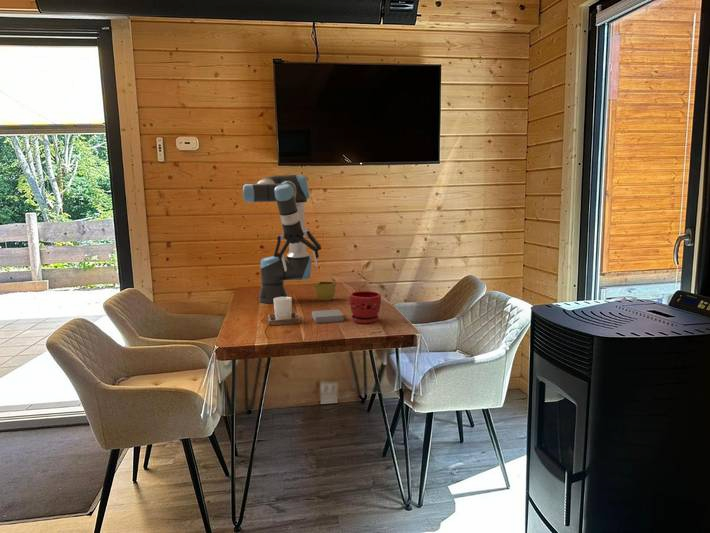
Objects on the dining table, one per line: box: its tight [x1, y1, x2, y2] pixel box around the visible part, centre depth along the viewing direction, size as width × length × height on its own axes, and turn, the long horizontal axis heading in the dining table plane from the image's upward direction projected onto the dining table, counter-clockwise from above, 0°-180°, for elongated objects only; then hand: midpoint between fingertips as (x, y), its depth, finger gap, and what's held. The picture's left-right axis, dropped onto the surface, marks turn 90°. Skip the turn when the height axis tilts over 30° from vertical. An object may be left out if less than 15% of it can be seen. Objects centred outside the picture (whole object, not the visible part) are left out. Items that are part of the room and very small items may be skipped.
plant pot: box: [349, 290, 382, 324], centre depth 204 cm, size 13×13×12 cm
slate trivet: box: [311, 309, 345, 324], centre depth 210 cm, size 12×12×2 cm
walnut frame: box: [267, 311, 301, 327], centre depth 208 cm, size 13×13×2 cm
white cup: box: [273, 296, 293, 320], centre depth 207 cm, size 8×8×10 cm
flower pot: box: [315, 281, 337, 301], centre depth 251 cm, size 9×9×9 cm
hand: (301, 267), depth 208 cm, fingers open, 13 cm apart
